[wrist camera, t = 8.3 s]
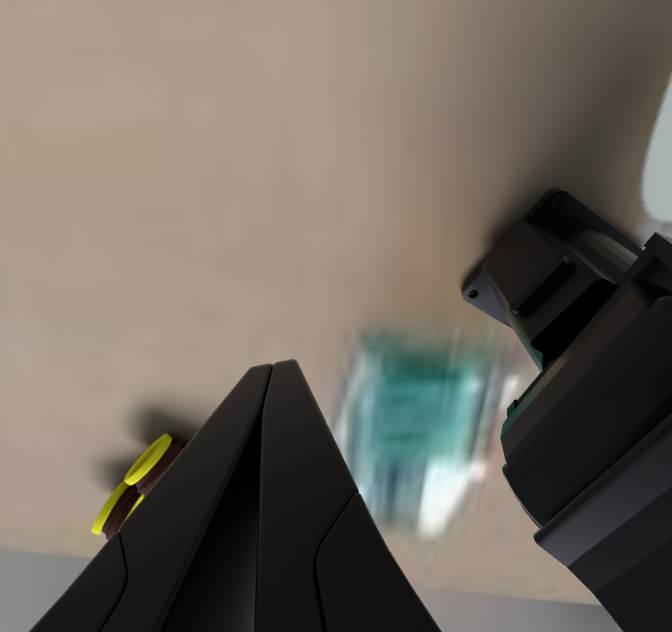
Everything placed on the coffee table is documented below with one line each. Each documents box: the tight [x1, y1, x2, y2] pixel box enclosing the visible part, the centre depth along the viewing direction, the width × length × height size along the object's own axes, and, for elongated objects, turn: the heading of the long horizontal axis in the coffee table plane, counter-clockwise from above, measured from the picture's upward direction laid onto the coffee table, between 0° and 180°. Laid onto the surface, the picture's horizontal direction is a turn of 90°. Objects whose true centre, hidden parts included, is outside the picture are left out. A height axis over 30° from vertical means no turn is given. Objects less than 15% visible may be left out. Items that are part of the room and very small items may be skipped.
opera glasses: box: [92, 433, 183, 540], centre depth 28 cm, size 10×5×5 cm, turn 144°
